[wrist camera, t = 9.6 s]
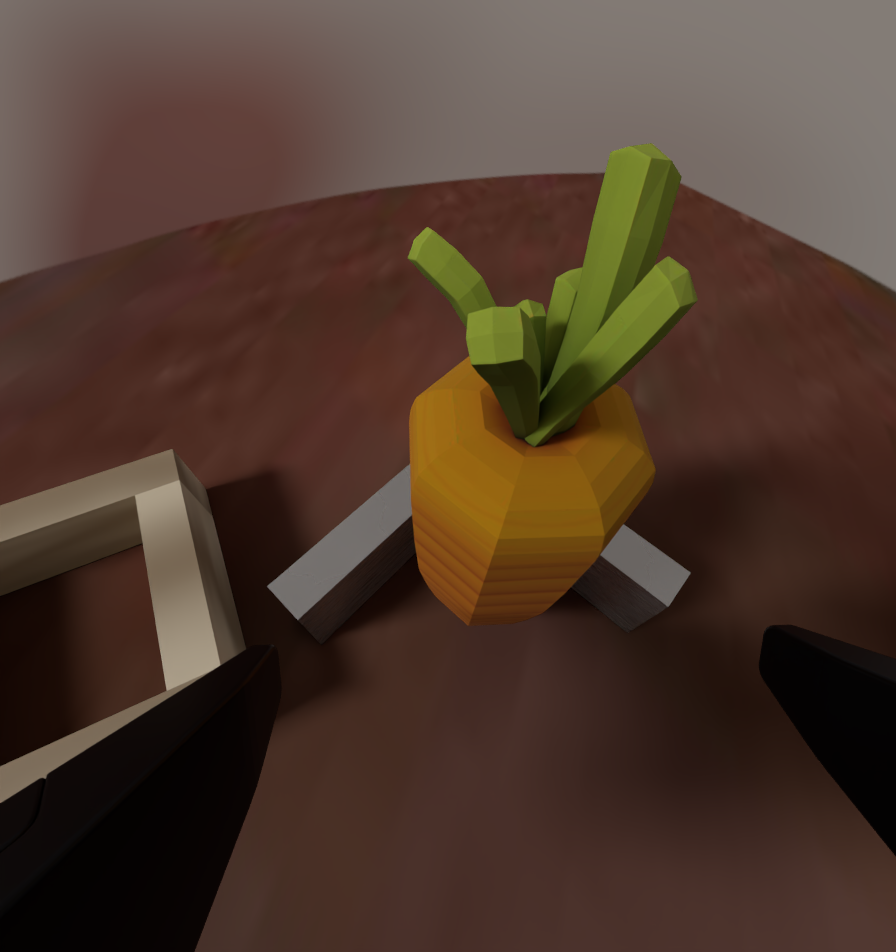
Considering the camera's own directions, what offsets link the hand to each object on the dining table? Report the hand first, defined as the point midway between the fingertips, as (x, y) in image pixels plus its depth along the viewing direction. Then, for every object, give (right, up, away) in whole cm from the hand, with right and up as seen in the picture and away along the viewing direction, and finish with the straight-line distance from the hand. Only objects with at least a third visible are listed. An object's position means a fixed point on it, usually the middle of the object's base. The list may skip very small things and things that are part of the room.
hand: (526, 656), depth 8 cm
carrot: (0, -2, +9) cm, 10 cm away
